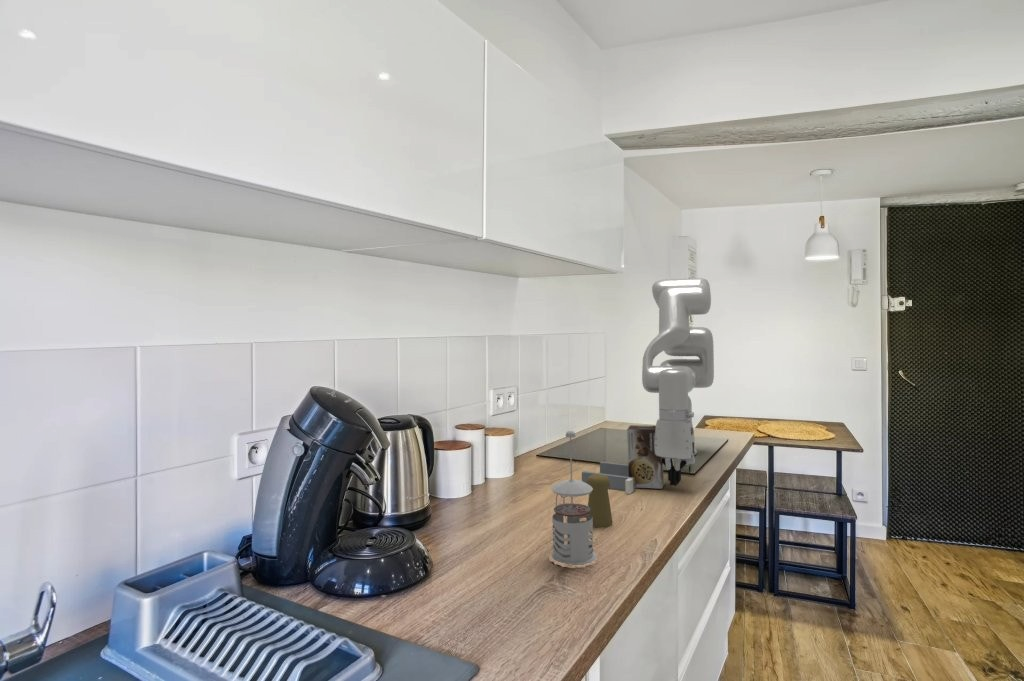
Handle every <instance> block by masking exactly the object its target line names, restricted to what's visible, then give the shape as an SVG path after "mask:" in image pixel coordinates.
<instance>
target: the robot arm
mask: <svg viewBox="0 0 1024 681" xmlns="http://www.w3.org/2000/svg"><path fill="white" fill-rule="evenodd" d="M651 293H652V296H653V299H654V302H655V303H656V305H657V307H658V310H659V311H658V314H659V315H658V334H657V335H656V336H655V337H654V338H653V339H652V340H651V341H650V342H649V344H648V345H647V347H646V349H645V351H644V354H643V358H642V368H641V369H642V370H641V371H642V372H641V373H642V374H641V382H642V383H641V384H642V387H643V389H644V390H645V391H646V392H647V393H651V394H652V393H653V394H655V393H656V394H658V417H659V418H658V419H657V420H656V422H655V426H656V428H655V436H654V453H655V455H656V456H658V457H662V460H661V461H662V463H663V466H665V468H666V469H667V480H668V482H669V485H670V486H678V485H679V484H680V483H681V482H682V469H683V468H684V467H685V466H687V465H694V464H695V463H696V459H695V456H696V455H697V454H698V450H697V448H696V439H695V438H696V437H695V431H694V425H693V418H694V417H695V413H694V412H693V409H692V408H693V406H692V399H691V398H690V396H689V393H691V392H692V390H693V389H694V388H695V389H696V388H697V389H702V388H703V389H706V388H710V387H712V385H713V384H714V378H715V366H714V365H715V363H714V361H715V360H714V359H715V358H714V356H715V355H714V354H715V353H714V352H715V351H714V337H713V332H712V331H711V330H710V329H709V328H708V327H704V326H703V327H701V326H699V327H698V326H693V327H692V326H690V316H693V315H695V316H697V315H706V314H708V313H709V312H710V310H711V304H712V296H711V294H712V292H711V286H710V283H709V281H708V279H706V278H702V277H693V278H692V277H691V278H669V279H667V278H666V279H660V280H657V281H655V282H653V284H652V287H651ZM662 352H664V354H666V355H667V356H670V357H698V358H694V359H693V358H692V359H691V358H689V359H687V358H670V359H666V360H664V361H663V362H661V363H660V365H653V363H654V360H655V358H656V357H657V356H658V355H659V354H660V353H662ZM656 438H657V439H656ZM674 460H676V461H675V465H674Z"/></svg>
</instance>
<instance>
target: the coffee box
mask: <svg viewBox="0 0 1024 681" xmlns="http://www.w3.org/2000/svg"><path fill="white" fill-rule="evenodd" d="M655 428H656V425H636V424H632V425H629V426H628V428H627V430H626V434H627V439H626V440H627V465H628V476H629V477H634V478H635V489H636V488H638V489H639V488H641V489H656V490H657V489H658V490H659V489H663V487H664V485H665V484H664V464H663V463H662V461H661V460H662V457H658V456H656V455H655V453H654V436H655ZM656 439H657V438H656Z"/></svg>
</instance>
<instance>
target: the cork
mask: <svg viewBox="0 0 1024 681" xmlns="http://www.w3.org/2000/svg"><path fill="white" fill-rule="evenodd" d="M587 484H588V485H590V486H591V487H592V488H593V490H592V492H591V493H590V494H588V499H587V500H588V501H587V506H589V508H590V509H591V510H590V512H589V514H591V515H592V518H593V526H595V527H594V528H597V527H603V528H608V527H607V526H609V527H611V526H612V525H613V524H614V522H613V516H612V510H611V501H610V496H609V489H610V488H609V487H610V479H609V477H608V476H606V475H603V474H593V475H590V476H589V477H588V479H587ZM585 519H586V520H585V521H589V520H590V519H589V518H585ZM612 523H613V524H612ZM610 525H611V526H610Z"/></svg>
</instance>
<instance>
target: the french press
mask: <svg viewBox="0 0 1024 681" xmlns="http://www.w3.org/2000/svg"><path fill="white" fill-rule="evenodd" d="M565 438H569V454H570V458H569V459H570V478H569V479H567V480H566V479H564V480H561V481H559V482H557V483H554V484H553V485H552V486H551V487H550V489H551V492H552V493H554V494H556V497H555V507H554V508H553V511H554V512H555V513H553V515H552V518H551V520H552V521H551V522H552V537H553V538H552V552H551V553H550V554H551V556H552V558H553V559H554V560H556V561H558V562H561V563H565V564H572V565H584V564H587V563H591V562H592V561H594V560H595V559H596V555H597V554H596V552H594V536H593V532H594V527H593V518H592V515H591V514H589V512H590V510H591V509H590V508H589V506H588V505H586V504H583V503H582V504H581V503H574V502H573V499H574V498H573V497H583V496H587V495H588V496H589V494H590V493H591V492H592V490H593V488H592V487H591V486H590V485H588V484H587V483H585V482H582V480H578V479H573V466H572V465H573V464H572V461H573V459H572V458H573V457H572V456H573V455H572V438H576V432H575V430H567V431H566V433H565ZM559 496H560V497H561V498H563V499H562V500H563V501H562V502H563V503H561V504H558V497H559ZM568 497H571V498H570V500H571V501H570V502H568V503H566V502H565V498H568ZM583 518H585V519H586V518H589V519H590V520H589V521H586V520H581V521H580V519H583ZM564 519H565V520H564ZM564 521H566V522H564ZM589 533H590V534H589ZM565 535H567V537H565ZM589 539H590V540H589ZM565 542H566V543H567V544H565Z"/></svg>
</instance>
